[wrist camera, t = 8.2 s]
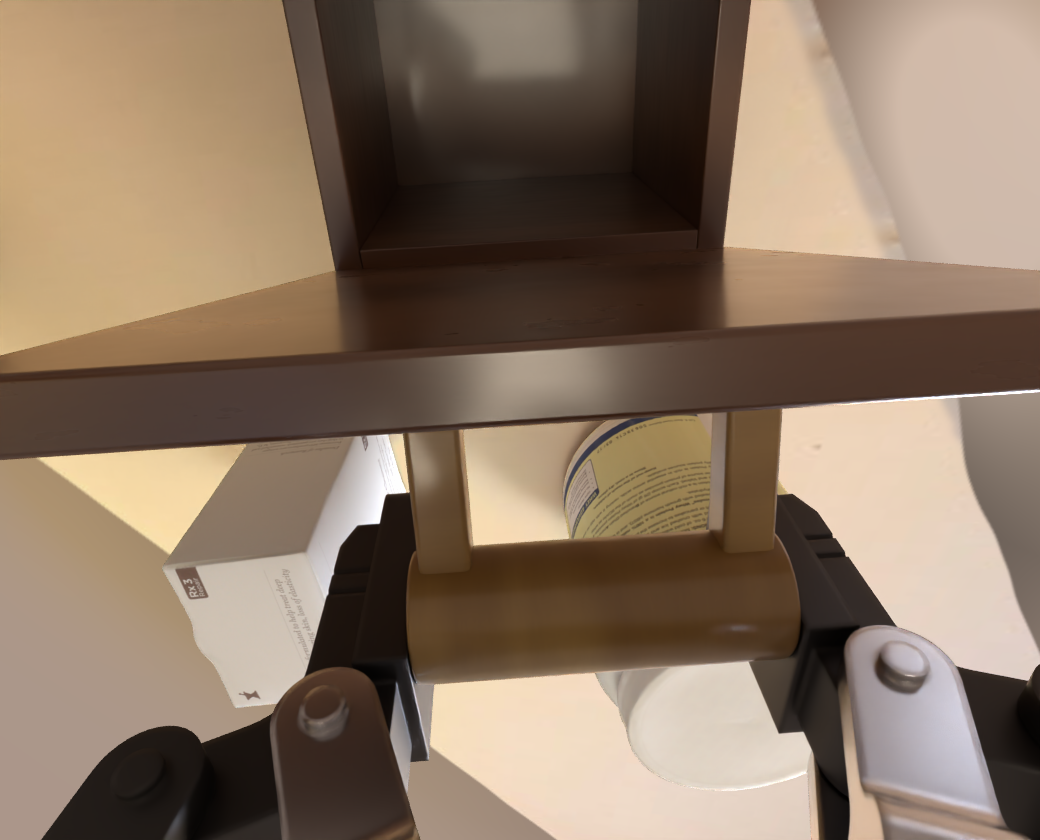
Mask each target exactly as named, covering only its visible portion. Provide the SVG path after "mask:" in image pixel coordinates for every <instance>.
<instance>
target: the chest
mask: <svg viewBox="0 0 1040 840" xmlns="http://www.w3.org/2000/svg"><path fill="white" fill-rule="evenodd" d="M282 2H283V7H284V12H285V17H286V23H287V28H288V33H289V38H290V43H291V48H292V53H293V58H294V63H295V68H296V73H297V78H298V83H299V88H300V94H301V99H302V104H303V109H304V114H305V119H306V124H307V129H308V134H309V139H310V144H311V149H312V154H313V159H314V164H315V170H316V175H317V180H318V185H319V190H320V195H321V200H322V205H323V210H324V215H325V220H326V225H327V230H328V235H329V241H330V246H331V251H332V256H333V261H334V266H335V271H342V270H358V269H375V268H391V267H407V266H424V265H440V264H456V263H473V262H489V261H505V260H522V259H538V258H554V257H571V256H587V255H603V254H620V253H636V252H653V251H669V250H685V249H702V248H718V247H723V245H724V236H725V227H726V219H727V210H728V201H729V192H730V183H731V174H732V165H733V156H734V148H735V139H736V130H737V121H738V112H739V103H740V94H741V85H742V76H743V68H744V59H745V50H746V41H747V32H748V23H749V14H750V5H751V0H282Z"/></svg>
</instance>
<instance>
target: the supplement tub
mask: <svg viewBox="0 0 1040 840" xmlns="http://www.w3.org/2000/svg"><path fill="white" fill-rule="evenodd" d="M711 438H712V413H710V414H694V415H679V416H664V417H648V418H633V419H618V420H607V421H606V422H604V423H603V424H601V425H600V426H599V427H598V428H596V429H595V430H594V431H593V432H592V433H591V434H590V435H589V436H588V437H587V438H586V439H585V440H584V442H583V443H582V444H581V446H580V447H579V448H578V450H577V451H576V453H575V454H574V456H573V458H572V460H571V462H570V465H569V467H568V470H567V473H566V476H565V481H564V487H563V509H564V514H565V517H566V523H567V528H568V534H569V539H578V538H593V537H607V536H622V535H636V534H651V533H666V532H680V531H695V530H706V524H707V517H708V509H709V501H710V473H711ZM777 494H778V495H784V494H788V493H787V491H786V490H785V488H784V487H783V485H782V484H781V482H780V481H779V480H778V488H777ZM595 674H596V677H597V679H598V681H599V683H600V685H601V687H602V688H603V690H604V691H605V693H606V694H607V695H608V697H609V698H610V699H611V700H612V702H613V703H614V704H615V705H616V706H617V707H618V708H619V713H620V716H621V719H622V722H623V724H624V725H625V727H626V731H627V735H628V740H629V743H630V746H631V748H632V751H633V752H634V754H635V756H636V757H637V758H638V760H639V761H640V762H641V763H642V764H643V765H644V766H645V767H646V768H647V769H648V770H649V771H651V772H653V773H654V774H656V775H657V776H659V777H661V778H663V779H665V780H667V781H669V782H672V783H675V784H678V785H682V786H686V787H691V788H696V789H704V790H741V789H750V788H756V787H762V786H767V785H771V784H774V783H778V782H781V781H785V780H788V779H791V778H794V777H797V776H800V775H802V774H804V773H807V767H808V760H809V757H810V753H811V750H812V749H811V747H810V745H809V743H808V741H807V739H806V736H805V734H804V732H795V733H782V734H779V733H778V731H777V728H776V726H775V724H774V721H773V719H772V717H771V714H770V712H769V709H768V707H767V705H766V702H765V700H764V698H763V695H762V693H761V690H760V688H759V686H758V683H757V681H756V679H755V676H754V674H753V671H752V669H751V667H750V664H749V662H738V663H724V664H710V665H696V666H682V667H668V668H655V669H641V670H627V671H613V672H599V673H595Z"/></svg>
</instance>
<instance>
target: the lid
mask: <svg viewBox="0 0 1040 840" xmlns="http://www.w3.org/2000/svg"><path fill="white" fill-rule="evenodd" d="M1030 392H1040V271H1037V270H1023V269H1010V268H997V267H984V266H971V265H958V264H944V263H931V262H918V261H905V260H891V259H878V258H865V257H852V256H838V255H825V254H812V253H799V252H785V251H772V250H759V249H746V248H732V247H718V248H702V249H685V250H669V251H653V252H636V253H620V254H603V255H587V256H571V257H554V258H538V259H522V260H505V261H489V262H473V263H456V264H440V265H424V266H407V267H391V268H375V269H358V270H342V271H332V272H328V273H324V274H320V275H316V276H312V277H308V278H305V279H301V280H297V281H293V282H289V283H285V284H281V285H277V286H273V287H269V288H265V289H261V290H257V291H253V292H249V293H245V294H241V295H237V296H234V297H230V298H226V299H222V300H218V301H214V302H210V303H206V304H202V305H198V306H194V307H190V308H186V309H182V310H178V311H174V312H170V313H167V314H163V315H159V316H155V317H151V318H147V319H143V320H139V321H135V322H131V323H127V324H123V325H119V326H115V327H111V328H107V329H103V330H99V331H96V332H92V333H88V334H84V335H80V336H76V337H72V338H68V339H64V340H60V341H56V342H52V343H48V344H44V345H40V346H36V347H32V348H28V349H25V350H21V351H17V352H13V353H9V354H5V355H1V356H0V460H7V459H22V458H37V457H53V456H68V455H83V454H99V453H114V452H129V451H144V450H160V449H175V448H190V447H205V446H221V445H236V444H251V443H267V442H282V441H297V440H312V439H328V438H343V437H358V436H373V435H389V434H403V438H404V447H405V456H406V464H407V473H408V482H409V490H410V499H411V508H412V516H413V525H414V534H415V542H416V551H414V553H413V555H412V557H411V560H410V564H409V570H408V577H407V590H406V630H407V644H408V654H409V661H410V666H411V670H412V674H413V677H414V679H415V681H416V683H417V684H420V685H433V684H446V683H460V682H474V681H488V680H502V679H516V678H530V677H544V676H557V675H571V674H585V673H599V672H613V671H627V670H641V669H655V668H668V667H682V666H696V665H710V664H724V663H738V662H752V661H766V660H780V659H786V658H787V657H789V656H791V655H792V654H793V653H794V651H795V649H796V647H797V644H798V641H799V636H800V627H801V610H800V599H799V592H798V587H797V582H796V578H795V574H794V570H793V567H792V564H791V561H790V558H789V556H788V554H787V551H786V549H785V547H784V545H783V544H782V542H781V540H780V539H779V537H778V536H777V535H776V534H775V521H776V505H777V488H778V472H779V456H780V439H781V423H782V409H786V408H801V407H816V406H832V405H847V404H862V403H878V402H893V401H908V400H923V399H939V398H954V397H967V396H984V395H1000V394H1014V393H1030ZM710 413H712V438H711V473H710V508H709V530H695V531H680V532H666V533H651V534H636V535H622V536H607V537H593V538H578V539H563V540H549V541H534V542H520V543H505V544H490V545H476V546H473V537H472V525H471V514H470V502H469V491H468V479H467V468H466V456H465V445H464V434H463V430H465V429H480V428H496V427H511V426H526V425H542V424H557V423H572V422H587V421H603V420H618V419H633V418H648V417H664V416H679V415H694V414H710Z"/></svg>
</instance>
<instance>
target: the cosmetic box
mask: <svg viewBox="0 0 1040 840" xmlns="http://www.w3.org/2000/svg"><path fill="white" fill-rule="evenodd" d="M396 493H406V491H405V488H404V485H403V482H402V480H401V478H400V474H399V471H398V468H397V465H396V461H395V458H394V455H393V451H392V448H391V444H390V440H389V436H388V435H373V436H358V437H343V438H328V439H312V440H297V441H282V442H267V443H251V444H247V445H246V447H245V448H244V450H243V451H242V453H241V454H240V455H239V457H238V458H237V460H236V461H235V463H234V464H233V466H232V467H231V469H230V470H229V471H228V473H227V474H226V475H225V477H224V478H223V480H222V481H221V483H220V484H219V486H218V487H217V489H216V490H215V492H214V493H213V495H212V496H211V498H210V499H209V501H208V502H207V503H206V505H205V506H204V508H203V509H202V510H201V512H200V513H199V515H198V516H197V518H196V519H195V520H194V522H193V523H192V525H191V526H190V528H189V529H188V530H187V532H186V533H185V535H184V536H183V538H182V539H181V540H180V542H179V543H178V545H177V546H176V548H175V549H174V551H173V552H172V553H171V555H170V556H169V558H168V559H167V561H166V562H165V563H164V565H163V567H162V570H163V571H164V573H165V575H166V577H167V578H168V580H169V582H170V584H171V586H172V587H173V589H174V591H175V592H176V594H177V596H178V598H179V599H180V601H181V603H182V605H183V607H184V609H185V610H186V613H187V614H188V616H189V618H190V620H191V622H192V626H193V633H194V639H195V641H196V644H197V646H198V647H199V649H200V651H201V652H202V653H203V655H204V656H206V657H207V658H208V659H209V660H210V661H211V662H212V663H213V664H214V666H215V668H216V670H217V672H218V673H219V676H220V678H221V680H222V682H223V684H224V686H225V688H226V689H227V692H228V695H229V697H230V700H231V702H232V703H233V705H234V706H235V707H236V708H239V707H247V706H256V705H266V704H276V703H278V702H279V700H280V699H281V698H282V696H283V695H284V694H285V693H286V692H287V691H288V690H289V689H290V688H291V687H292V686H293V685H294V684H295V683H297V682H298V681H299V680H301V679H302V678H304V676H305V673H306V670H307V667H308V663H309V660H310V656H311V652H312V648H313V645H314V641H315V637H316V634H317V630H318V626H319V622H320V619H321V615H322V611H323V608H324V604H325V600H326V596H327V595H328V593H329V592H328V589H329V585H330V582H331V578H332V575H334V567H335V563H336V559H337V556H338V552H339V548H340V546H341V545H342V543H343V542H344V541H345V540H346V539H347V537H348V536H349V535H350V534H351V532H352V531H353V530H354V529H355V528H356V526H357V525H366V524H379V523H380V519H381V514H382V509H383V504H384V499H385V496H386V495H387V494H396Z"/></svg>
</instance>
